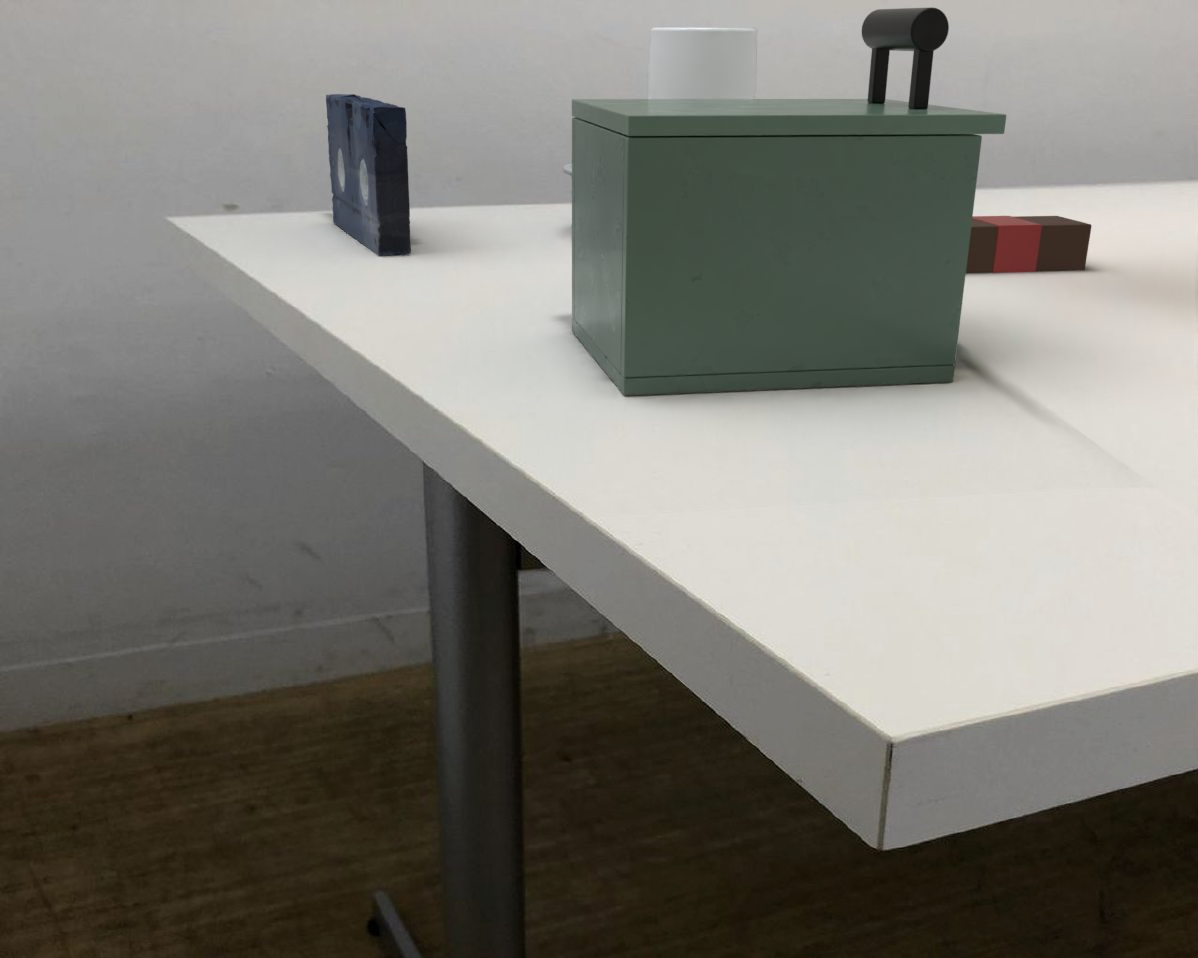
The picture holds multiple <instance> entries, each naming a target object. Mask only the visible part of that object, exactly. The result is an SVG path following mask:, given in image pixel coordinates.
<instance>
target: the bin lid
mask: <svg viewBox="0 0 1198 958" xmlns="http://www.w3.org/2000/svg"><path fill="white" fill-rule="evenodd" d="M949 27H950V25H949V21H948V18H947V16H946V14H945V13H944V12H943V11H942V9H939V8H937V7H906V8H903V7H902V8H879V9H875V10H873V11H871V12H870V13H868V15H867V16H866V17H865V19H864V20H863V22H862V25H861V38H862V41H863V42H864V44H865V45H866V46H867V47H868V48H869V49H871V53H870V54H871V55H870V67H869V68H870V69H869V77H868V89H867V90H868V92H867V98H755V99H648V98H573V99H571V117H577V118H579V119H582V120H585V121H588V122H591V123H593V124H596V125H599V126H602V127H605V128H608V129H610V130H613V131H616V132H619V133H622V134H624V135H627V136H752V135H922V134H975V135H1004V134H1005V131H1006V130H1005V129H1006V122H1007V114H1006V113H998V112H992V111H991V112H990V111H983V110H974V109H966V108H959V107H951V106H942V105H935V104H929V102H930V101H929V100H930V90H931V80H932V71H933V60H934V52H935V51H936V50H938V49H939V48H940V47H942V46H943V44H944V43H945V42H946V39H947V38H948V34H949V30H950V28H949ZM890 51H896V52H897V51H898V52H913V56H912V64H911V76H910V84H909V85H910V86H909V97H908V101H903V100H896V99H888V98H886V95H887V84H888V74H889V73H888V72H889V62H890V53H891V52H890Z"/></svg>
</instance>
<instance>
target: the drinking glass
mask: <svg viewBox="0 0 1198 958" xmlns="http://www.w3.org/2000/svg"><path fill="white" fill-rule="evenodd" d="M648 41H649V42H648V54H647V57H648V58H647V82H646V83H647V87H646V89H647V90H646V91H647V92H646V93H647V99H756V89H757V76H758V75H757V74H758V73H757V72H758V29H757V28H755V27H681V26H680V27H676V26H675V27H671V26H670V27H669V26H666V27H664V26H663V27H659V26H658V27H657V26H655V27H650V29H649V40H648Z"/></svg>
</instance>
